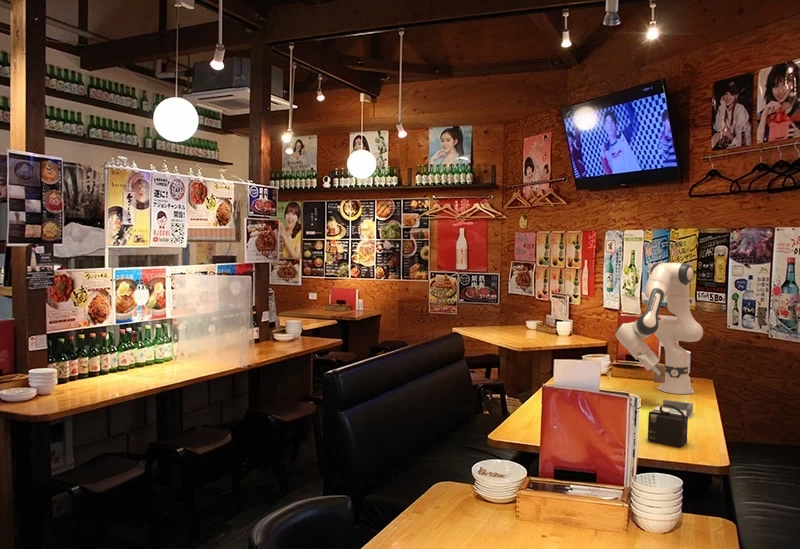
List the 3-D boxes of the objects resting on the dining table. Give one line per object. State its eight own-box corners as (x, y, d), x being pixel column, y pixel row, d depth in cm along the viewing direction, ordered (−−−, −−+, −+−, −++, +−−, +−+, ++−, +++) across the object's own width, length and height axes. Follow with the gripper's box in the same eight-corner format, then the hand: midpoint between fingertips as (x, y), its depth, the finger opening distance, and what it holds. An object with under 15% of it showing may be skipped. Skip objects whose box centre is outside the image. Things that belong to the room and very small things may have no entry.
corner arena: (656, 407, 313) (657, 398, 312) (692, 412, 304) (692, 403, 304) (652, 413, 302) (653, 404, 302) (689, 418, 294) (690, 409, 293)
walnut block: (655, 380, 320) (655, 364, 319) (664, 381, 318) (665, 365, 317) (653, 382, 316) (654, 366, 316) (663, 383, 314) (664, 367, 313)
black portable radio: (653, 435, 267) (655, 399, 266) (689, 442, 258) (690, 405, 258) (645, 441, 259) (646, 404, 258) (681, 448, 250) (682, 410, 249)
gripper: (642, 350, 310) (662, 372, 306) (649, 345, 328) (668, 366, 324) (632, 358, 313) (652, 380, 308) (639, 352, 331) (659, 373, 326)
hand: (661, 373), depth 316 cm, fingers closed on walnut block, 4 cm apart
